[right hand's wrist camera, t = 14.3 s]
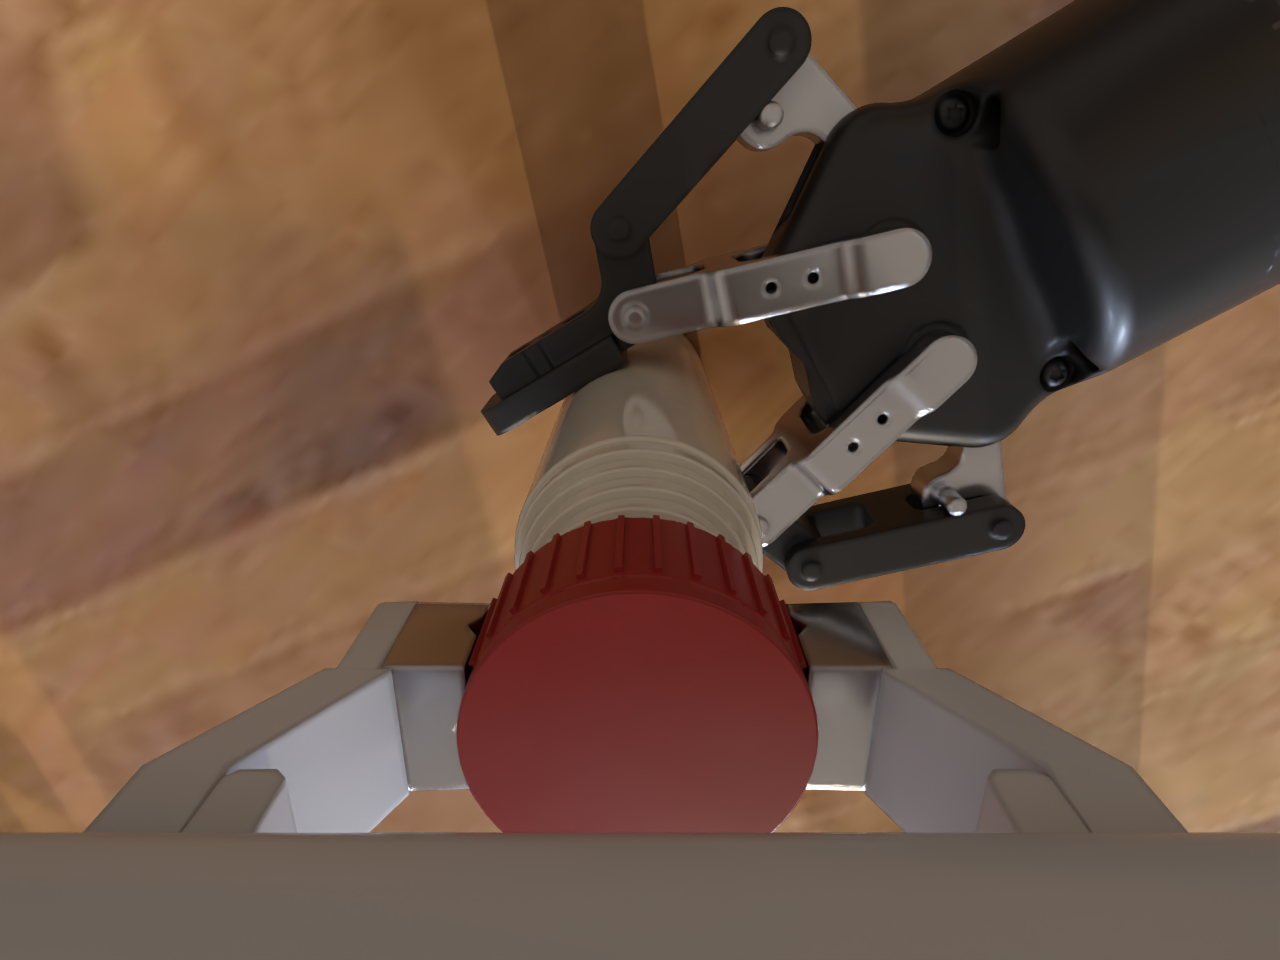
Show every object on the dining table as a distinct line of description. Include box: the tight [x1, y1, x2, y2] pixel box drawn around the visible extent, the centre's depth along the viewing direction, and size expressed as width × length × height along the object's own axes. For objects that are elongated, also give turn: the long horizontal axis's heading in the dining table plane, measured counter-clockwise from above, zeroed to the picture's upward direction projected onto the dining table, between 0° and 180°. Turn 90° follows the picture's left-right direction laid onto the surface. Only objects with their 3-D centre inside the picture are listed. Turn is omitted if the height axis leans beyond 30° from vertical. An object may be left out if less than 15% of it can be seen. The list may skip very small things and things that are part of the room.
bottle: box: [514, 334, 763, 573], centre depth 17 cm, size 4×4×17 cm
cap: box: [456, 515, 819, 833], centre depth 9 cm, size 4×4×2 cm
